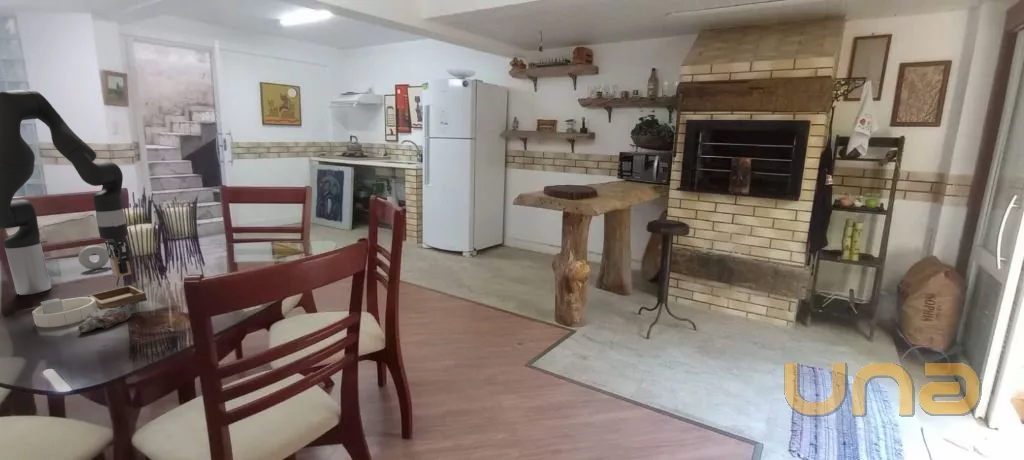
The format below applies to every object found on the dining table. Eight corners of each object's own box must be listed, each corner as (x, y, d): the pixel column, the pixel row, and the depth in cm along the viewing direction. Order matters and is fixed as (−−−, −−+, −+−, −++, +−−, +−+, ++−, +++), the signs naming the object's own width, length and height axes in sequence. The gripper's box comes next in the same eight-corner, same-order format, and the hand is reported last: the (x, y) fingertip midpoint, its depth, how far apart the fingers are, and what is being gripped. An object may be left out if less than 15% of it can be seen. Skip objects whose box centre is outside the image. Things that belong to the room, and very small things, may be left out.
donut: (82, 272, 201) (76, 249, 198) (80, 271, 203) (74, 247, 200) (112, 266, 208) (107, 243, 206) (110, 265, 210) (105, 242, 208)
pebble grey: (45, 320, 151) (40, 302, 150) (62, 316, 155) (57, 298, 153) (48, 323, 149) (44, 304, 148) (65, 318, 152) (61, 300, 151)
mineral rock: (81, 337, 141) (77, 323, 140) (72, 331, 145) (69, 317, 144) (141, 320, 153) (139, 306, 152) (131, 314, 157) (129, 301, 156)
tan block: (112, 274, 168) (109, 257, 167) (126, 271, 172) (123, 255, 170) (117, 277, 166) (113, 260, 165) (131, 273, 169) (128, 257, 168)
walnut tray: (89, 302, 168) (87, 295, 167) (131, 291, 177) (129, 285, 177) (103, 310, 160) (101, 303, 159) (146, 299, 169) (145, 292, 169)
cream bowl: (30, 321, 153) (27, 308, 152) (89, 306, 164) (86, 294, 163) (43, 332, 144) (40, 318, 144) (104, 315, 156) (101, 303, 155)
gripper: (90, 222, 166) (100, 271, 170) (105, 228, 158) (116, 279, 162) (117, 218, 172) (126, 265, 176) (133, 223, 164) (142, 273, 168)
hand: (121, 271), depth 169 cm, fingers closed on tan block, 4 cm apart
